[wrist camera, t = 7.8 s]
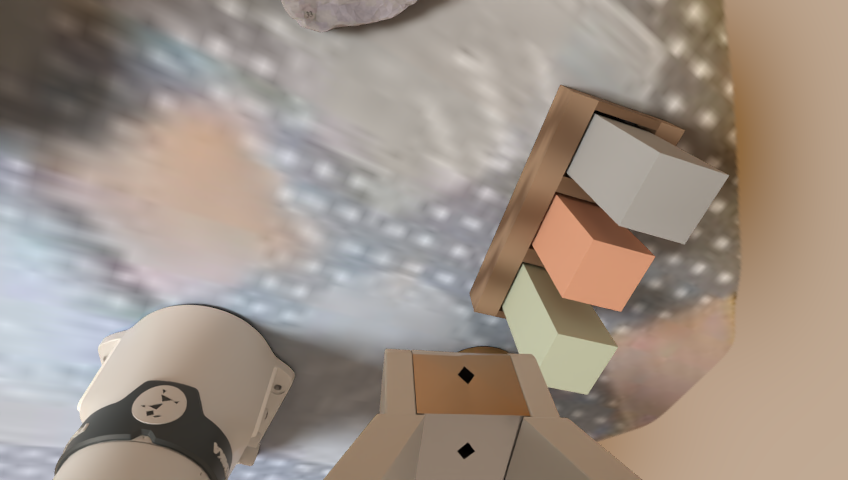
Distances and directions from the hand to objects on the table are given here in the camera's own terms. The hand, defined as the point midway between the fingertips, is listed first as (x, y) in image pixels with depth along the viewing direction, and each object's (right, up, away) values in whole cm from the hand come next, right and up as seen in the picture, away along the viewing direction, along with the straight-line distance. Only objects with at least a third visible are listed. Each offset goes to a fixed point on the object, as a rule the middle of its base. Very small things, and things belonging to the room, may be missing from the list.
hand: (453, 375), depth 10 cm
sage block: (+10, -2, +34) cm, 36 cm away
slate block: (+14, +10, +28) cm, 33 cm away
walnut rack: (+12, +5, +34) cm, 36 cm away
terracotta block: (+12, +5, +33) cm, 35 cm away
